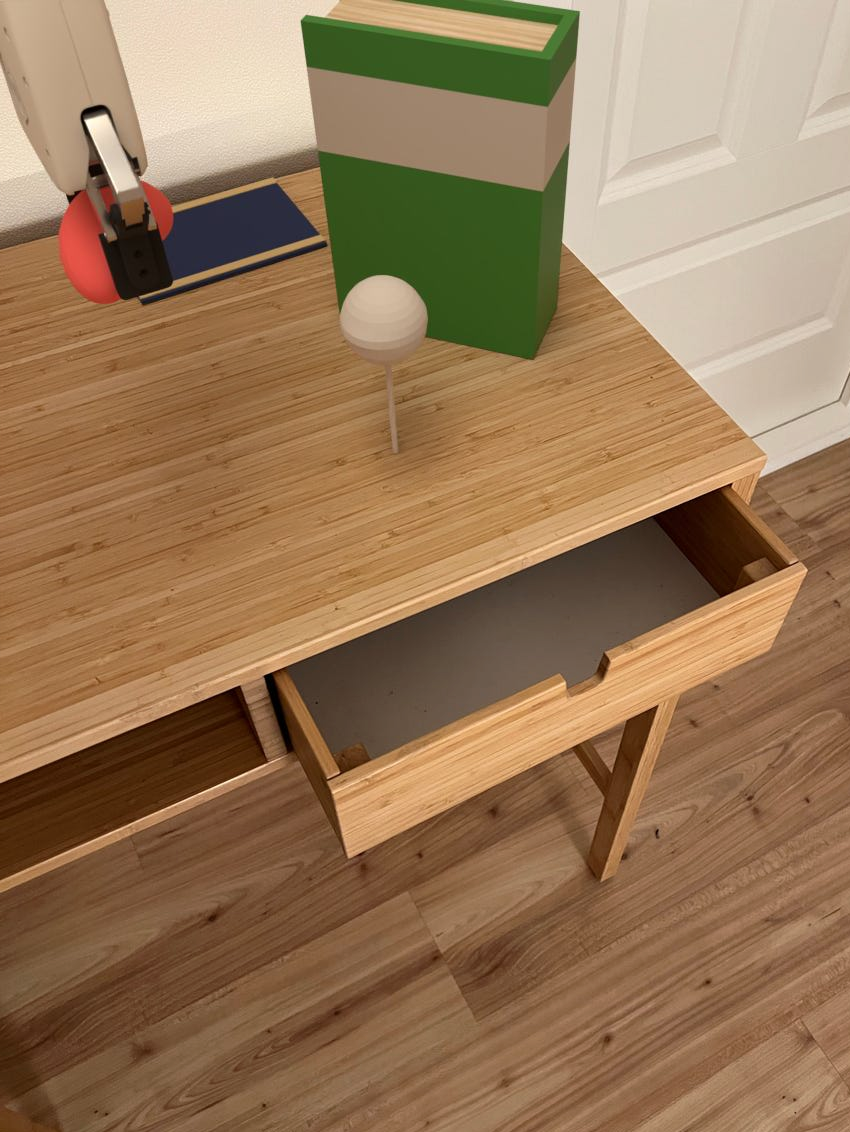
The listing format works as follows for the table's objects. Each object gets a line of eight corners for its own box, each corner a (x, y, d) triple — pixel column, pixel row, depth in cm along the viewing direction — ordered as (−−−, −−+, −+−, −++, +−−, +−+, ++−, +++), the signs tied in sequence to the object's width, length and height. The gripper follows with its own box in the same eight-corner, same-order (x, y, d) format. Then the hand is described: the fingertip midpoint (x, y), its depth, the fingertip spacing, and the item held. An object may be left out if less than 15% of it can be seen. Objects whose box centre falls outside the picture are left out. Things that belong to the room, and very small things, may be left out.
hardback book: (340, 318, 87) (300, 20, 67) (371, 270, 91) (342, -24, 72) (533, 359, 84) (550, 59, 64) (557, 307, 88) (579, 11, 68)
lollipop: (386, 414, 80) (370, 246, 68) (448, 441, 78) (443, 273, 66) (341, 461, 77) (316, 293, 65) (405, 490, 75) (391, 323, 63)
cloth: (142, 305, 88) (141, 300, 88) (97, 231, 95) (95, 227, 94) (327, 246, 93) (326, 241, 93) (272, 180, 100) (271, 175, 99)
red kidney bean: (45, 303, 61) (21, 252, 55) (112, 183, 63) (95, 121, 57) (126, 341, 62) (110, 295, 56) (189, 222, 64) (181, 165, 58)
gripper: (-106, -136, 49) (22, 197, 63) (-21, 4, 40) (106, 353, 55) (46, -160, 51) (137, 167, 66) (158, -32, 43) (234, 313, 57)
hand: (122, 250), depth 60 cm, fingers closed on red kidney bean, 8 cm apart
